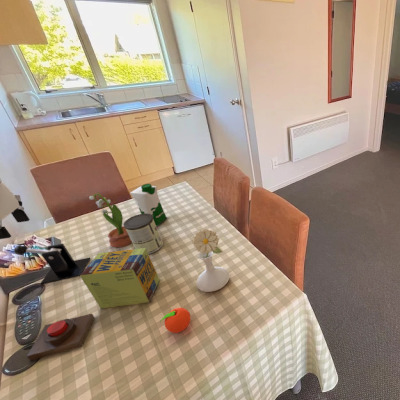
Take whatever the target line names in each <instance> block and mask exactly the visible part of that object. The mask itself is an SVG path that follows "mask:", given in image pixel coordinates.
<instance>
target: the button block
mask: <svg viewBox="0 0 400 400" xmlns="http://www.w3.org/2000/svg"><path fill="white" fill-rule="evenodd" d="M95 319H96V317H95V316H94V313H88V314H85V315H80V316H76V317H71V318H65V319H61V320H59V321H65V322H66V324H67V325H68V328H67V329H66V330H65V331H64V332H63V333H62V334H60V335H58V336H55V337H52V336H50V335H49V334H48V332H47V329H48V328H49V327H50V326H51V325H52V324H53V323H54V322H52V323H47V324H45V325H44V326H43V328H42V330H41V331H40V333H39V335H38V337H37V338H36V340H35V342H34V343H33V345H32V346H31V348H30V350H29V352H28V353H27V355H26V357H27V358H28V360H30V361H35V360H38V359H42V358H45V357H50V356H53V355H56V354H60V353H64V352H67V351H71V350H75V349H78V348H82V347H83V346H84V344H85V342H86V340H87V337H88V334H89V333H90V330H91V328H92V325H93V323H94V321H95Z"/></svg>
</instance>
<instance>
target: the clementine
mask: <svg viewBox="0 0 400 400" xmlns="http://www.w3.org/2000/svg"><path fill="white" fill-rule="evenodd" d="M163 320H164V327H165V329H166V330H167V331H168V332H170V333H173V334H178V333H180V332H181V333H182V332H183V331H184V330H185V329H186V328H187V327H188V326H189V325H190V323H191V313H190V311H189V310H188V309H186V308H184V307H175V308H173V309H172V310H170V311H169V312H168V313H167V314H165V315H164V316H163V317H162V318H161V320H160V322H159V323H161V322H162V321H163Z"/></svg>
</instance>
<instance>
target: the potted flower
mask: <svg viewBox="0 0 400 400" xmlns="http://www.w3.org/2000/svg"><path fill="white" fill-rule="evenodd" d="M96 196H98V200H97V197H96ZM100 198H101V199H100ZM91 200H92V201H93V200H95V204H96V205H97V208H98V209H101V208H102V211H101V213H102V216H103V217H104V219H105V220H106V221H107V222H108V223H109V224H111V225H112V226H113V227H114V229H111V231H110V232H109V233H107V237H108V240H109V245H110V246H111V247H113V248H122V247H127V246H129V245H131V244H133V243H132V241H131V239H130V237H129V235H128V233H127V231H126V229H125V227H124V225H123V221H124V218H123V213H122V210H121V209H120V207H118V206H117V205H116V204H115V203H113V204H111V203H112V201H111V199H110V198H109V199H108V198H107V197H104V196H103V195H102V194H101V193H100V192H99V191H98V192H97V193H95V194H93V195H90V196H89V201H91ZM104 203H106V204H104ZM103 204H104V205H103ZM110 204H111V205H110ZM104 207H108V208H109V210H110V211H108V210H107V209H104ZM109 214H111V216H110V215H109Z"/></svg>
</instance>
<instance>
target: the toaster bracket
mask: <svg viewBox="0 0 400 400" xmlns="http://www.w3.org/2000/svg"><path fill="white" fill-rule="evenodd" d="M51 248H58V249H62V250H61V254H60V253H59V251H58V250H56V251H51V252H46V253H43V254H41V256H42V257H43V259H44V260H45V262H46V263H47V264H48V266H49V267H50V269H51V270H50V269H49V271H48V272H47V273H46V274H45V276H44V277H43V279H42V281H41V282H40V285H45V284H49V283H54V282H59V281H63V280H69V279H72V278H77V277H80V275H81V274H82V272H83V271H84V270H85V269H86V268H87V267H88V265H89V263H90V261H91V257H86V258H80V259H76V260H74V258H73V256H72V255H71V253H70V252H69V251H68V249H67V247H66V246H65V245H64V243H58V244H52V245H48V246H47V250H50V249H51Z"/></svg>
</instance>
